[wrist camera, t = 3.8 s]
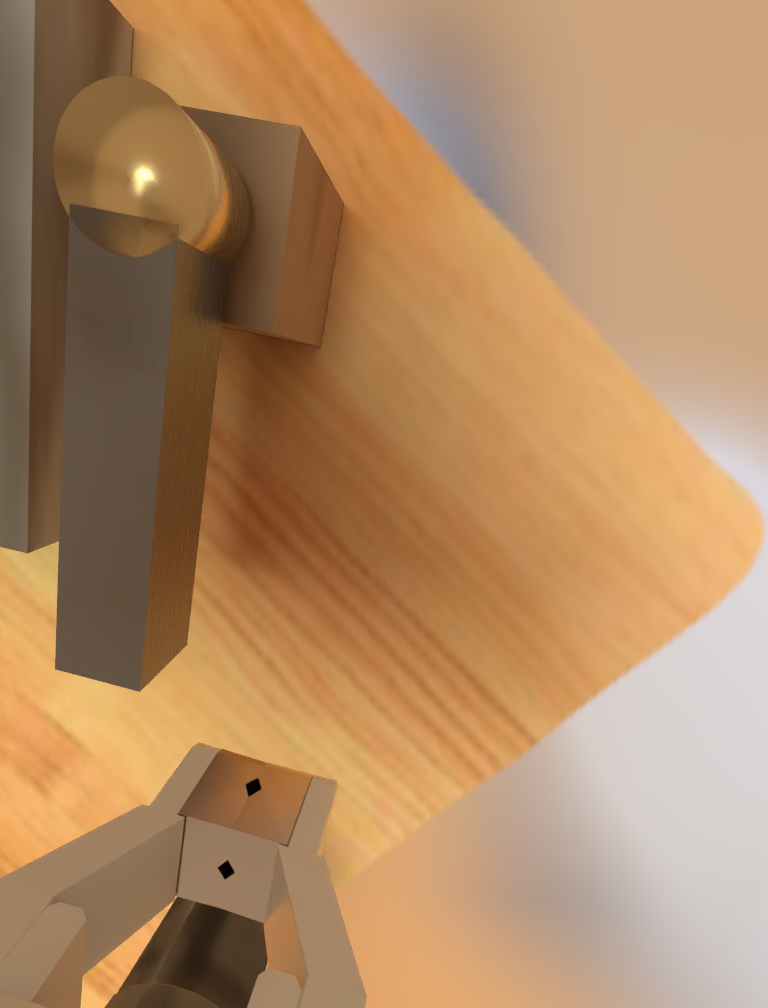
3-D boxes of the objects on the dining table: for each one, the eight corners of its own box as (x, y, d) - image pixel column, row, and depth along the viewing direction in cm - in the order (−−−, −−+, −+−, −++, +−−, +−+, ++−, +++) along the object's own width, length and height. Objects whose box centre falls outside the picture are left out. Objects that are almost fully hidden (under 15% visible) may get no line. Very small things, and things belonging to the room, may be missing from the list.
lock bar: (131, 126, 15) (55, 63, 12) (257, 149, 14) (210, 90, 12) (102, 622, 19) (41, 665, 16) (199, 648, 19) (154, 695, 16)
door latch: (-50, 484, 27) (-354, 546, 16) (-63, -5, 21) (-539, -370, 11) (285, 565, 25) (178, 685, 15) (365, 66, 20) (280, -274, 10)
